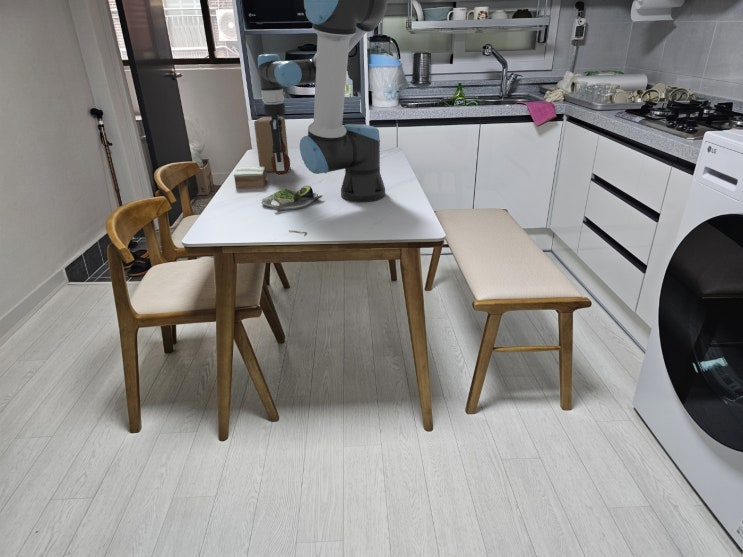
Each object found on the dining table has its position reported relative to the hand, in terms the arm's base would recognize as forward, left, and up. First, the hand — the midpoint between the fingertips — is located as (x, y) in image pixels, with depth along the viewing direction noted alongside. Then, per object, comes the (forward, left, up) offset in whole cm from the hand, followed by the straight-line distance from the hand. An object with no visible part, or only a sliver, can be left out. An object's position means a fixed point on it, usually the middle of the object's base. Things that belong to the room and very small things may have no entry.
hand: (281, 168), depth 180 cm
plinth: (-1, +11, -5) cm, 13 cm away
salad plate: (-24, -5, -6) cm, 26 cm away
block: (+19, +4, -5) cm, 20 cm away
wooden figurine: (0, 0, -2) cm, 2 cm away
